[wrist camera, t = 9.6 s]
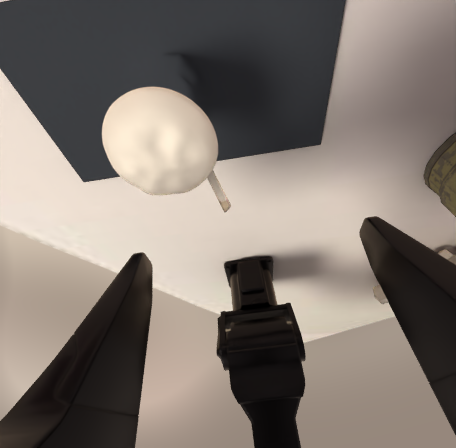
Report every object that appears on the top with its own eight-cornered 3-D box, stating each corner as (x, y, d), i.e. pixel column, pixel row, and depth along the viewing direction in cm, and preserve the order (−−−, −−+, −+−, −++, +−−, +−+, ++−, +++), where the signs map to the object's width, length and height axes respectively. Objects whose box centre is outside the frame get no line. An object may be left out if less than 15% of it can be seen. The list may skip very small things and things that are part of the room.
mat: (318, 141, 20) (320, 144, 19) (85, 178, 21) (83, 182, 20) (352, -68, 12) (358, -69, 11) (-36, 9, 12) (-43, 10, 12)
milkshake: (200, 136, 18) (200, 240, 11) (128, 94, 15) (72, 195, 9) (236, 79, 15) (263, 170, 9) (155, 18, 13) (105, 78, 6)
